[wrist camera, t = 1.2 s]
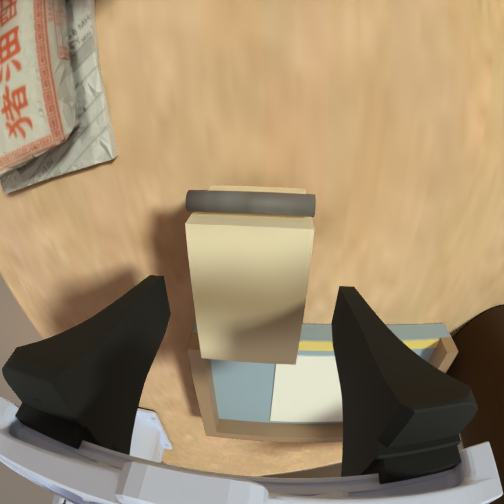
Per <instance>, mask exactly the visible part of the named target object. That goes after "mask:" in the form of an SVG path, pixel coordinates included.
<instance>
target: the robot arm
mask: <svg viewBox="0 0 504 504" xmlns="http://www.w3.org/2000/svg"><path fill="white" fill-rule="evenodd" d="M170 314H171V313H170V308H169V303H168V298H167V292H166V287H165V281H164V276H155V275H150V276H148V277H147V278H146V279H144V280H143V281H141V282H140V283H139V284H138V285H136V286H135V287H134V288H132V289H131V290H130V291H128V292H127V293H126V294H125V295H123V296H122V297H121V298H119V299H118V300H117V301H115V302H114V303H112V304H111V305H109V306H108V307H107V308H105V309H104V310H102V311H101V312H99V313H98V314H96V315H95V316H93V317H91V318H90V319H88V320H86V321H84V322H83V323H81V324H79V325H77V326H75V327H73V328H71V329H69V330H67V331H65V332H62V333H60V334H58V335H55V336H53V337H50V338H47V339H45V340H42V341H39V342H36V343H32V344H28V345H25V346H21V347H17V348H16V349H15V351H14V352H13V354H12V355H11V356H10V358H9V359H8V361H7V362H6V364H5V365H4V367H3V368H2V372H3V376H4V378H5V379H6V381H7V383H8V384H9V386H10V387H11V388H12V390H13V391H14V392H15V393H16V395H17V396H18V397H19V399H20V400H21V401H22V402H23V403H22V404H21V406H20V408H19V407H18V406H17V405H16V404H14V403H13V402H11V401H8V400H7V399H5V398H3V397H1V396H0V461H1V462H3V463H4V464H5V465H6V466H8V467H10V468H11V469H12V470H14V471H16V472H18V473H19V474H20V475H22V476H24V477H25V478H27V479H29V480H30V481H32V482H34V483H36V484H37V485H39V486H41V487H43V488H44V489H46V490H48V491H50V492H52V493H54V494H55V496H54V499H53V503H52V504H489V503H491V502H492V501H494V500H496V499H498V498H499V497H501V496H502V495H503V491H502V487H501V482H500V478H499V474H498V471H497V467H496V463H495V460H494V456H493V453H492V449H491V446H490V443H489V442H488V441H487V442H484V443H480V444H477V445H474V446H470V447H467V448H465V449H463V450H461V451H458V447H457V445H458V444H459V443H460V441H461V440H460V437H459V433H460V432H461V431H462V430H463V429H464V428H465V427H466V426H467V425H468V423H469V422H470V421H471V420H472V419H473V417H474V416H475V414H476V412H477V409H478V407H477V403H476V401H475V398H474V396H473V393H472V391H471V388H470V386H469V385H467V384H465V383H463V382H461V381H459V380H457V379H455V378H453V377H451V376H449V375H447V374H445V373H444V372H442V371H440V370H439V369H437V368H436V367H434V366H433V365H431V364H430V363H428V362H427V361H425V360H424V359H423V358H421V357H420V356H419V355H417V354H416V353H415V352H414V351H412V350H411V349H410V348H409V347H408V346H407V345H405V344H404V343H403V342H402V341H401V340H400V339H399V338H398V337H397V336H396V335H395V334H394V333H393V332H392V331H391V330H390V329H389V328H388V327H387V326H386V325H385V324H384V323H383V322H382V321H381V319H380V318H379V317H378V316H377V315H376V314H375V312H374V311H373V310H372V309H371V307H370V306H369V305H368V304H367V302H366V301H365V300H364V299H363V297H362V296H361V295H360V294H359V292H358V291H357V290H356V289H355V287H345V286H339V291H338V296H337V301H336V306H335V310H334V315H333V319H332V324H331V325H332V341H333V349H334V355H335V360H336V366H337V371H338V376H339V382H340V388H341V395H342V413H343V455H342V473H341V477H332V478H267V477H252V476H240V475H230V474H221V473H214V472H207V471H200V470H194V469H188V468H183V467H177V466H172V465H167V464H163V463H161V459H162V455H163V452H164V449H169V450H171V449H172V445H171V443H170V441H169V439H168V437H167V435H166V432H165V430H164V428H163V426H162V424H161V422H160V420H159V418H158V415H157V414H156V413H155V412H153V411H149V410H145V409H140V408H138V405H139V401H140V397H141V394H142V390H143V386H144V383H145V380H146V377H147V374H148V372H149V370H150V367H151V365H152V363H153V360H154V358H155V356H156V353H157V351H158V349H159V346H160V344H161V342H162V339H163V337H164V335H165V332H166V328H167V325H168V321H169V317H170Z"/></svg>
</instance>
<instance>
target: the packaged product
mask: <svg viewBox="0 0 504 504" xmlns="http://www.w3.org/2000/svg"><path fill="white" fill-rule="evenodd" d="M117 156H118V152H117V147H116V142H115V136H114V131H113V125H112V121H111V117H110V112H109V108H108V104H107V99H106V94H105V90H104V84H103V78H102V74H101V67H100V59H99V50H98V40H97V29H96V20H95V0H0V180H1V184H2V189H3V192H4V193H5V194H7V193H10V192H13V191H16V190H19V189H22V188H24V187H27V186H30V185H32V184H35V183H38V182H41V181H44V180H48V179H51V178H54V177H58V176H61V175H64V174H67V173H70V172H73V171H76V170H80V169H83V168H86V167H90V166H93V165H96V164H99V163H102V162H105V161H109V160H112V159H114V158H115V157H117Z"/></svg>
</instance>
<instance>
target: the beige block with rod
mask: <svg viewBox="0 0 504 504" xmlns="http://www.w3.org/2000/svg"><path fill="white" fill-rule="evenodd" d="M315 203H316V201H315V195H313V194H306V190H305V189H299V188H280V187H256V186H217V185H211V186H210V187H209V189H208V190H189V191H188V192H187V195H186V209H187V211H188V212H193V213H192V214H191V216H190V217H189V219H188V220H187V222H186V223H185V229H186V240H187V250H188V259H189V268H190V277H191V285H192V293H193V301H194V309H195V316H196V323H197V330H198V337H199V344H200V351H201V357H202V358H206V359H216V360H226V361H238V362H251V363H267V364H289V365H296V360H297V354H298V348H299V342H300V335H301V329H302V322H303V316H304V309H305V302H306V294H307V287H308V279H309V271H310V263H311V255H312V246H313V237H314V226H313V221H312V217H314V215H315Z"/></svg>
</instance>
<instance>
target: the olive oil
mask: <svg viewBox="0 0 504 504" xmlns="http://www.w3.org/2000/svg"><path fill="white" fill-rule="evenodd" d="M453 341H454V343H455V345H456V348H457V350H458V353H457V355H456V357H455V359H454V360H453V362H452V364H451V365H450V367H449V369H448V370H447V372H446V373H445V374H447V375H449V376H451V377H453V378H455V379H457V380H459V381H461V382H463V383H465V384H467V385H469V386H470V388H471V391H472V393H473V396H474V398H475V401H476V403H477V407H478V409H477V412H476V414H475V416H474V417H473V419H472V420H471V421H470V422H469V423H468V425H467V426H466V427H465V428H464V429H463V430H462V431H461V432H460V433H459V434H460V438H461V442H462V446H463V449H465V448H467V447H470V446H474V445H477V444H480V443H484V442H487V441H488V442H489V443H490V446H491V449H492V453H493V456H494V460H495V463H496V467H497V471H498V474H499V478H500V482H501V487H502V491H503V495H502V496H501V497H499V498H498V499H496V500H494V501H492V502H491V503H489V504H504V305H501V306H498V307H495V308H492V309H490V310H488V311H486V312H484V313H483V314H481V315H479V316H478V317H476V318H475V319H474V320H472V321H471V322H470V323H469V324H467V325H466V326H465V327H464V328H463V329H462V330H461V331H460V332H459V333H458V334H457V335H456V336H455V338H454V339H453Z"/></svg>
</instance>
